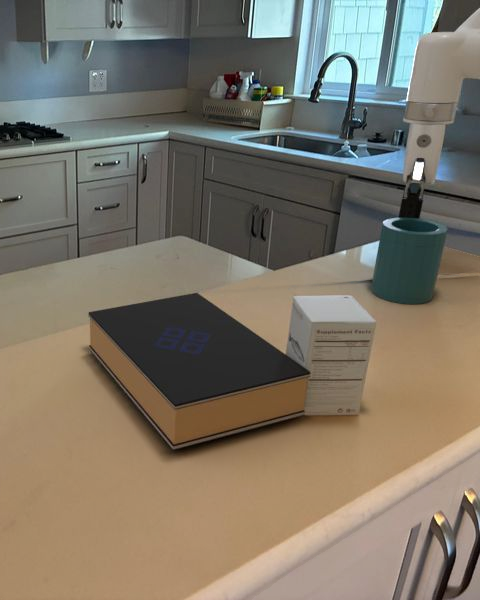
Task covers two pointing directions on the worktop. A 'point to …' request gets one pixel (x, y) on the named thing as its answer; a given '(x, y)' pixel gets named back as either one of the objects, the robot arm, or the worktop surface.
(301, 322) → the white packaging box
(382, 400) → the worktop surface
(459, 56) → the robot arm
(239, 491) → the worktop surface
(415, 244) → the teal pen holder
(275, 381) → the book
